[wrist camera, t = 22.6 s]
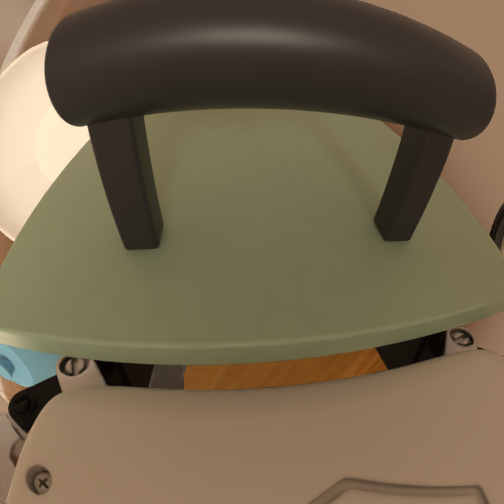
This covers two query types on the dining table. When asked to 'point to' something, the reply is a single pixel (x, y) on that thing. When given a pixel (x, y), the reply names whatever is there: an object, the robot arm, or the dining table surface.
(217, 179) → the box lid
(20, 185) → the bowl
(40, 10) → the dining table surface
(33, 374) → the sugar bowl
